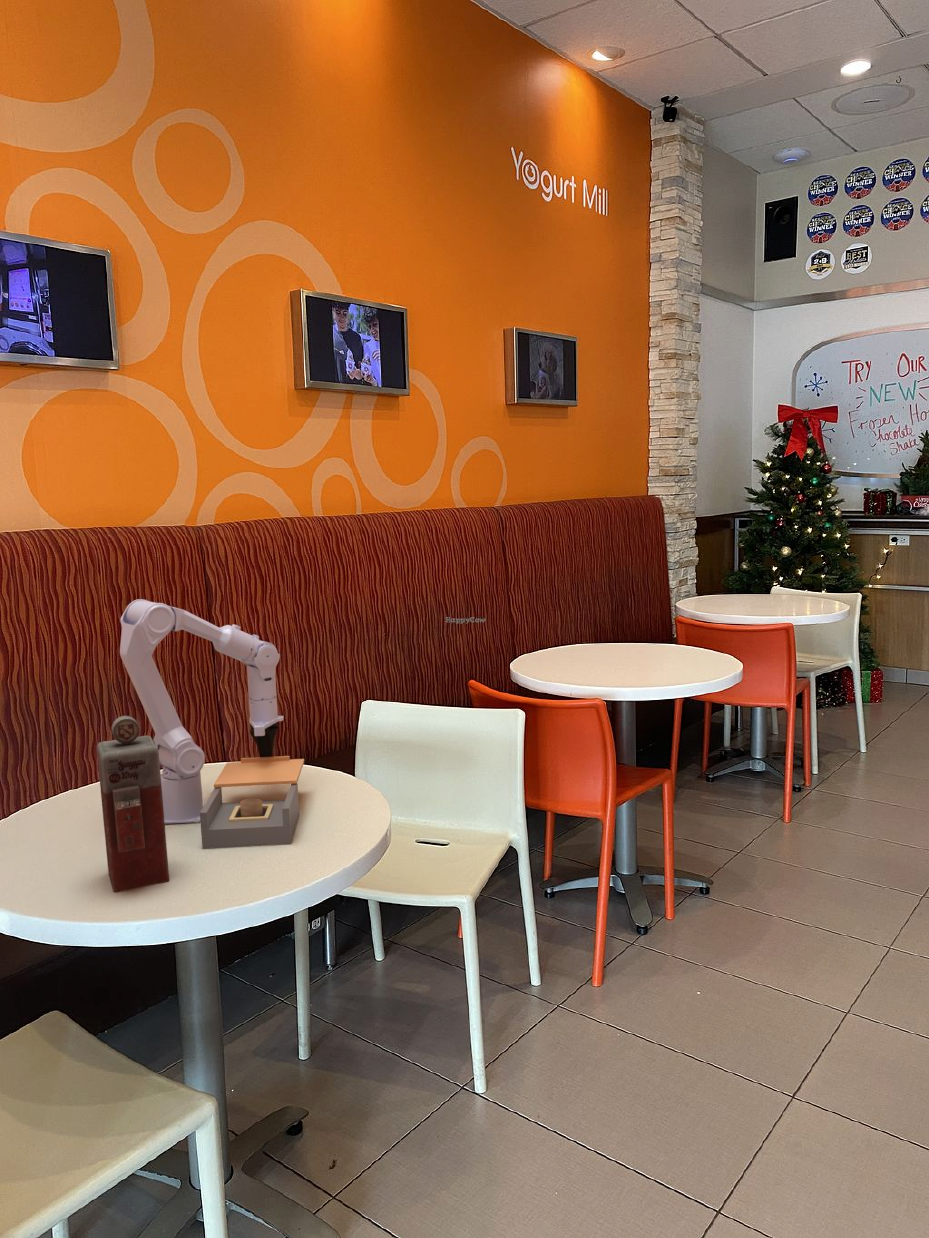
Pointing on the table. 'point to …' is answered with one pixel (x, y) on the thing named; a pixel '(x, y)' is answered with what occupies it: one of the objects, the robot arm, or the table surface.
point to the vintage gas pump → (132, 808)
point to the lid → (260, 772)
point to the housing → (248, 822)
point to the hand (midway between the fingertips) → (266, 759)
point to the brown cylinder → (251, 807)
